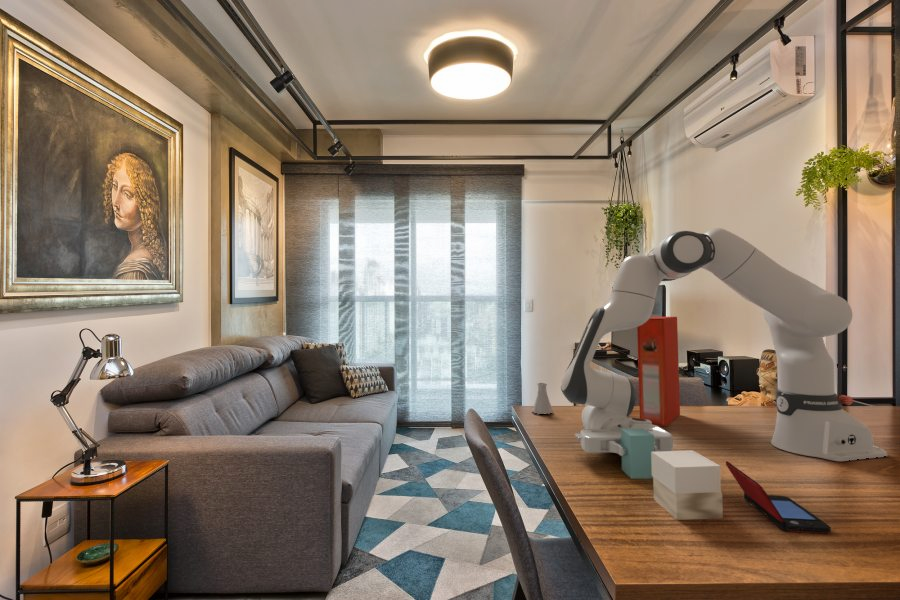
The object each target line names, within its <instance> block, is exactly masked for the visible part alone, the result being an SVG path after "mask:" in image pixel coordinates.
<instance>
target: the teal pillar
mask: <svg viewBox="0 0 900 600" xmlns="http://www.w3.org/2000/svg"><path fill="white" fill-rule="evenodd" d="M621 445H625V446H626V447H627V449H628V451H627V453H628V455H625V456H621V470H622V471H623V472H624V473H625V474H626V476H628V477H629V478H630V479H653V476H652V464H651V452H654V435H653V434H651V433H650V432H648V431H647V430H645V429H621Z"/></svg>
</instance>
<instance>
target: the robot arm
mask: <svg viewBox="0 0 900 600" xmlns="http://www.w3.org/2000/svg"><path fill="white" fill-rule="evenodd" d="M699 269H704V270H706V271H708V272H710V273H712V274H713V275H714V276H715V277H716V278H717V279H719V280H720V281H721V282H722V283H724V284H725V285H726V286H728V288H730V289H732V290H733V291H735V293H737V294H738V295H740V296H741V297H742V298H743V299H745V300H746V301H748V302H751V303H752V304H754V305H756V306H758V308H759V307H760V308H762V310H763V316H764V320H765V321H766V323H767V325H768V327H769V330H770V335H771V339H772V342H773V343H772V344H773V347H774V351H775V356H776V367H777V368H776V369H777V370H776V372H777V388H776V389H775V403H776V404H775V406H776V410H777V412H776V422H775V426H774V427H775V428H774V433H773V436H772V438H771V440H770V443H771V445H772V446H774V447H775V448H778V449H780V450H783V451H785V452H789V453H793V454H797V455H801V456H808V457H815V458H821V459H825V460H827V461H828V460H829V461H835V462H846V461H847V462H849V460H850V461H858V460H857V459H859V460H865V459H866V458H869V459H875V458H876V457H878V458H884V456H886V457H888V452H887V451H886V449H883V448H881V447H880V446H877V445H874V439H873V434H872V432H871V430H870V428H869V427H868V426H867V424H865V423H863V422H861V421H860V420H859V419H858V418H855V417H854V416H853V415H851V414H850V413H849V412H848V411H846V410H844V408H843V405H842V404H845V405H848V406H850V405H852V404H853V403H854V399H853V398H852V396H850V395H849V396H848V395H844V394H841V395H838V394H837V393H836V391H835V389H836V388H835V387H836V386H835V362H834V360H833V358H832V357H831V355H830V352H828V349H827V347H826V343H825V341H824V338H826V337H830V336H834V335H838V334H840V333H842V332H844V331H845V330H847V328H849V326H850V324H851V322H852V321H853V310H852V307H851V305H850V303H849V302H848V301H847V300H846V299H844V298H843V297H841V296H839V295H837V294H835V293H832V292H829V291H827V290H826V289H823V287H820V286H818V285H816V284H815V283H813V282H811V281H809V280H808V279H806V278H804V277H802V276H800V275H798V274H796V273H794V272H792V271H790V270H788V269H787V268H785V267H783V266H782V265H780V264H779V263H778V262H776V261H775V260H773V258H771V257H769V256H768V255H767V254H765V253H764V252H763V251H761V250H760V249H758V248H757V247H755V245H753V244H751V243H750V242H749V241H747V240H746V239H744V238H742V237H740V236H739V235H737V234H735V233H733V232H731V231H729V230H727V229H725V228H721V227H719V228H718V227H715V228H711V229H708V230H707V231H705V232H704V233H699V232H694V231H691V230H681V231H676V232H674V233H673V232H672V234H671V233H670V235H668V236H667V237H665V238H663V239H662V240H660V241H659V242H658V243H657V244H656V246H655V247H653V248H652V249H651V250H650V252H649V253H648V254H647V255H644V254H632V255H629V256H627V257H625V258H624V259H623V260H622V262H621V263H620V265H619V267H618V270H617V272H616V275H615V278H614V281H613V284H612V289H611V293H610V294H609V295H610V296H609V298H608V300H607V301H606V302H605V304H604V305H603V306H601V307H599V308H596V309H595V310H594V311H593V313H592V314H591V316H590V317H589V320H588V322H587V324H586V326H585V329H584V331H583V333H582V336H581V337H580V341H579V342H578V344H577V347H576V349H575V352H574V354H573V357H572V359H571V360H570V363H569V365H568V366H567V368H566V370H565V372H564V374H563V377H562V379H561V385H560V390H561V392H562V394H563V396H564V398H565V399H567V401H568V402H569V403H571V404H577V405H585V406H584V407H583V409H582V411H581V423H582V425H583V427H584V428H582V429H581V430H580V432H578V433H574V437H575V439H576V440H578V441H580V446H581V448H582V450H583V451H584V452H585V453H591V454H600V453H601V454H603V453H604V454H605V453H609V454H610V453H615V454H618V455H619V456H620V457H622V456H625V455H628V453H627V451H628V449H627V447H626V446H625V445H621V429H645V430H647V431H648V432H650V433H651V434H653V435H654V452H658V451H673V448H674V438H673V435H672V434H671V432H668V431H667V430H665V429H664V428H662V427H661V426H657V425H652V422H651V421H650V420H647V419H640V417H639V418H637V417H631V415H632V412H633V410H634V408H635V404H636V399H637V398H636V397H637V395H636V394H637V393H636V390H635V387H634V385H633V382H632V381H631V380H630V379H629V378H628V377H627V376H625V375H621V374H617V373H613V372H607V371H604V370H600V369H596V368H593V367H590V365H591V363H592V360H593V359H594V356H595V353H596V351H597V349H598V346H599V344H600V342H601V339H602V338H603V337H604V336H605V335H607V334H609V333H612V332H617V331H618V332H619V331H625V330H633V329H635V328H636V329H637V327H639V326H641V325H643V324H644V323H645V322H647V321H648V319H649V318H650V317H652V314H653V310H654V308H655V307H654V306H655V304H656V303H655V302H656V298H657V295H658V294H657V292H658V288H659V286H660V284H661V283H662V282H670V281H674V280H678V279H682V278H684V277H686V276H689V275H690V274H692V272H695V271H697V270H699ZM876 459H877V458H876ZM866 460H867V459H866Z"/></svg>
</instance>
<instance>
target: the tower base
mask: <svg viewBox="0 0 900 600" xmlns="http://www.w3.org/2000/svg"><path fill="white" fill-rule="evenodd" d="M652 480H653V481H652V483H653V486H652V487H653V500H654V501H655V502H656V503H657V504H659V505H660V506H661V507H662V508H663V509H664V510H666V512H668V513H669V514H670V515H671V517H673V518H674V519H675V520H680V521H681V520H682V521H683V520H706V519H707V520H709V519H710V520H711V519H724V517H723V516H724V513H723V511H724V509H723V492H722V491H721V492H710V493H684V494H675V493H674V492H672V491H671V490H670V489H669V488H667V487H666V486H665V485H663V484H662V483H661V482H659V481H658V480H657V479H655V478H654V477H653V478H652Z"/></svg>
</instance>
